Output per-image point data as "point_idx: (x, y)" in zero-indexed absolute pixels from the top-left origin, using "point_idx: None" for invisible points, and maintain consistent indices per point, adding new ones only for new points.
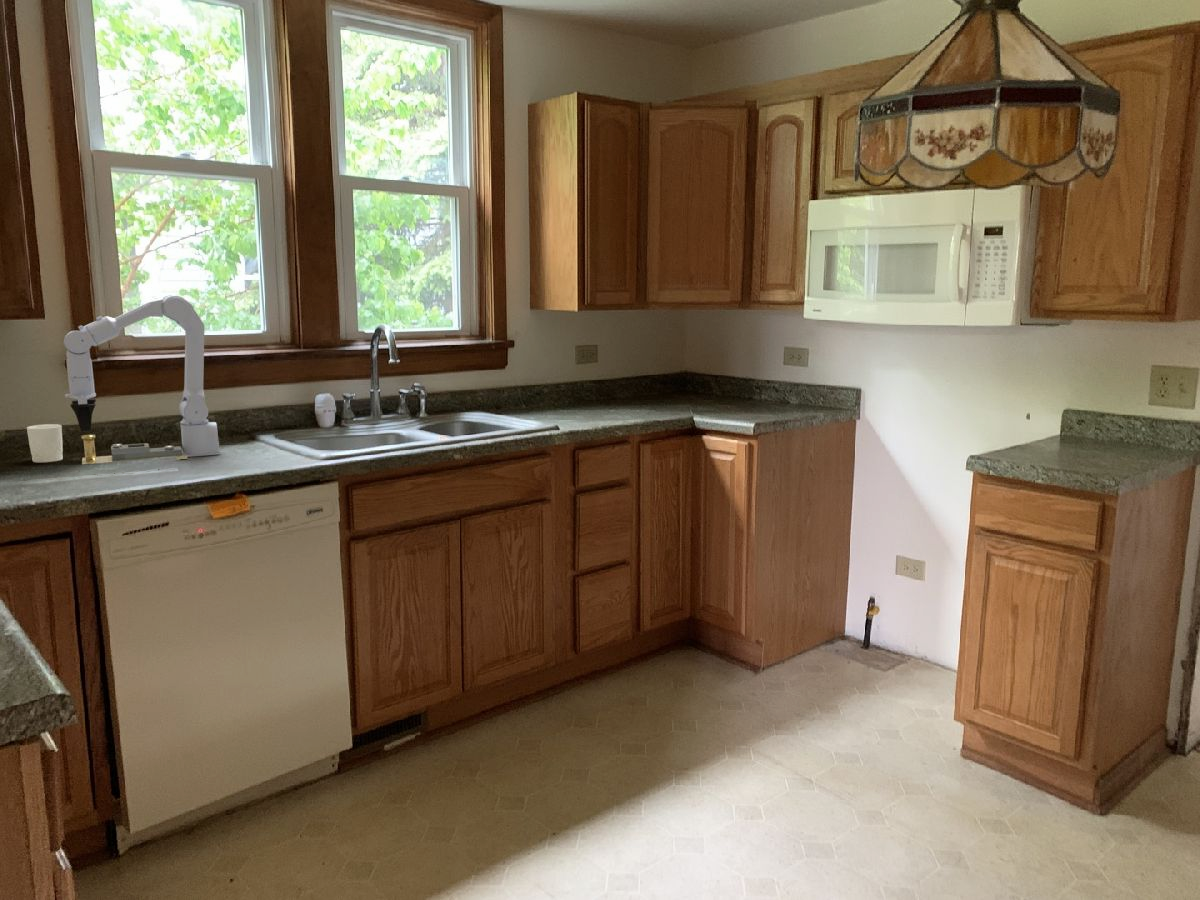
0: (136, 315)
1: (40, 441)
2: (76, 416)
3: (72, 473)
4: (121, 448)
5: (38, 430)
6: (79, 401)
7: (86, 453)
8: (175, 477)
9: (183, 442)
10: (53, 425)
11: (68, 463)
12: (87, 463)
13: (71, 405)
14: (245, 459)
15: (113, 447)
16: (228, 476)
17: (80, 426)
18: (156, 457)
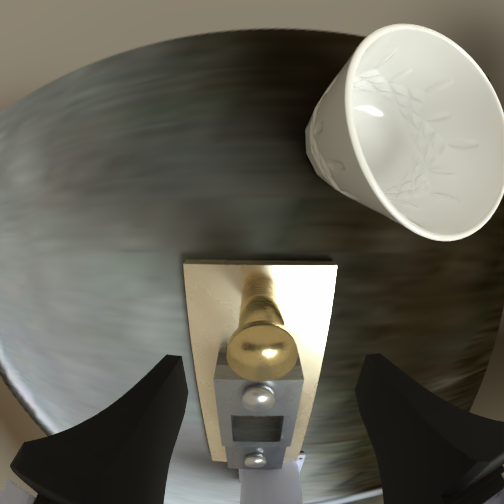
0: None
1: (325, 98)
2: (100, 413)
3: (103, 229)
4: (219, 401)
5: (344, 71)
6: (4, 498)
7: (246, 296)
8: (45, 395)
9: (259, 480)
10: (494, 193)
11: (319, 212)
12: (190, 282)
13: (12, 462)
14: (179, 485)
15: (250, 386)
16: (56, 433)
17: (151, 372)
18: (218, 429)
